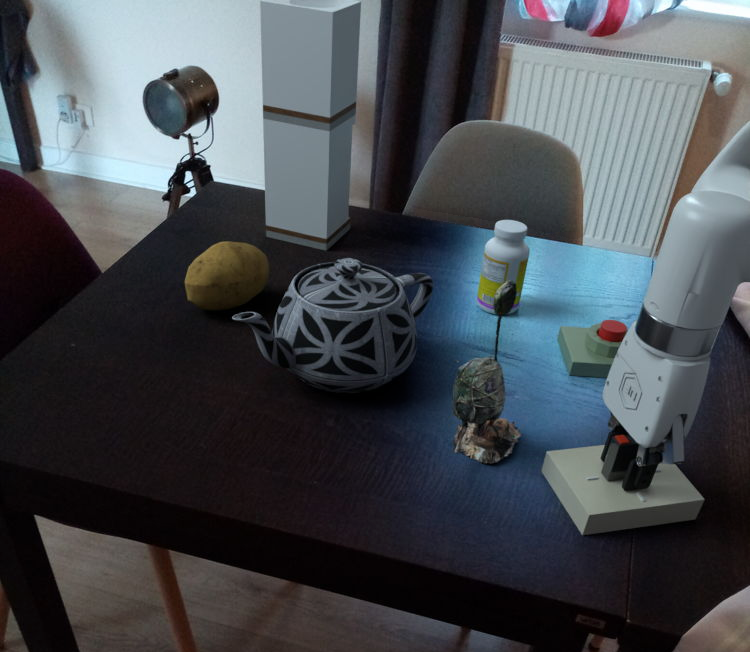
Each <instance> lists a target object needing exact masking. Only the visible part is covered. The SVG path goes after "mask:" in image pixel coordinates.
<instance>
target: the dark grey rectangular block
mask: <svg viewBox="0 0 750 652" xmlns="http://www.w3.org/2000/svg"><path fill="white" fill-rule="evenodd" d="M638 447H639V444H638V443H637V442H636V441H635V440H634V439H633V438H632V437H631V435H625V436H624V435H617V436H615V437H613V438H612V441H611V444H610V447H609V450H608V453H607V456H606V459H605V462H604V465H603V468H602V470H601V473H602V475H603V476H604V477H605V479H606V480H607V481H612V480H620V479H624V478H625V475H626V472H627V470H628V467H629V464H630V462H631V460H633V459H636V457H637V452H638ZM656 447H657V446H656ZM656 447H650V449H649V453H652V452H655V451H656Z"/></svg>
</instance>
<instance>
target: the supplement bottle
mask: <svg viewBox="0 0 750 652" xmlns="http://www.w3.org/2000/svg"><path fill="white" fill-rule="evenodd" d="M527 232H528V226H527V225H526V224H525V223H523V222H521V221H518V220H514V219H501V220H498V221H496V223H495V224H494V230H493V233H494V237H491V238H490V239H488V240H487V242H486V243H485V245H484V250H483V258H482V264H481V270H480V277H479V283H478V290H477V295H476V304H477V306H478V307H479V308H480V309H481V310H482V311H483V312H485V313H489V314H492V315H496V314H495V310H494V306H493V301H494V297H495V294H496V291H497V290H498V289H499V288H500V287H501V286H502V285H503V284H504V283H506V282H507V281H508V280H510V281H513V282H515V283H516V290H517V294H516V300H515V302H514V306H513V308H512V309H511V310H510V312H509V313H508V314H507V315H510V314H512V313H515V312H517V310H518V309H519V308H520V307H519V306H520V302H521V298H522V292H523V288H524V283H525V278H526V273H527V267H528V263H529V257H530V246H529V245H528V243H527V242H525V240H526V239H525V238H526V237H527V234H528V233H527Z"/></svg>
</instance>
